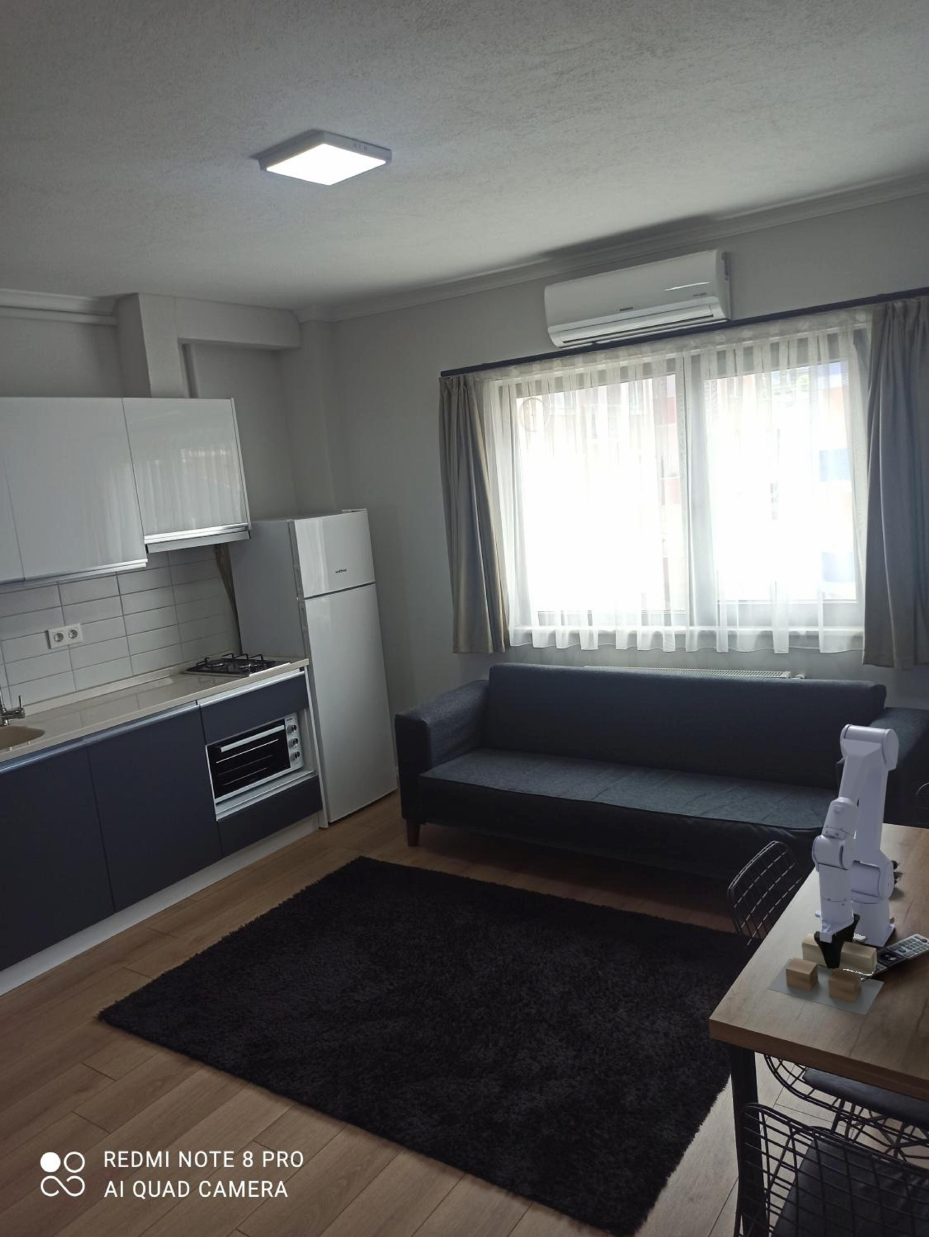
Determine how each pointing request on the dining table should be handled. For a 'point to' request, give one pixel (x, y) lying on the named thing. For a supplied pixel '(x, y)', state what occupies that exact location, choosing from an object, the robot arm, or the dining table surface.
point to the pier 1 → (802, 974)
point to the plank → (843, 955)
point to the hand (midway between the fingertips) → (839, 958)
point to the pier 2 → (844, 985)
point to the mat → (822, 991)
